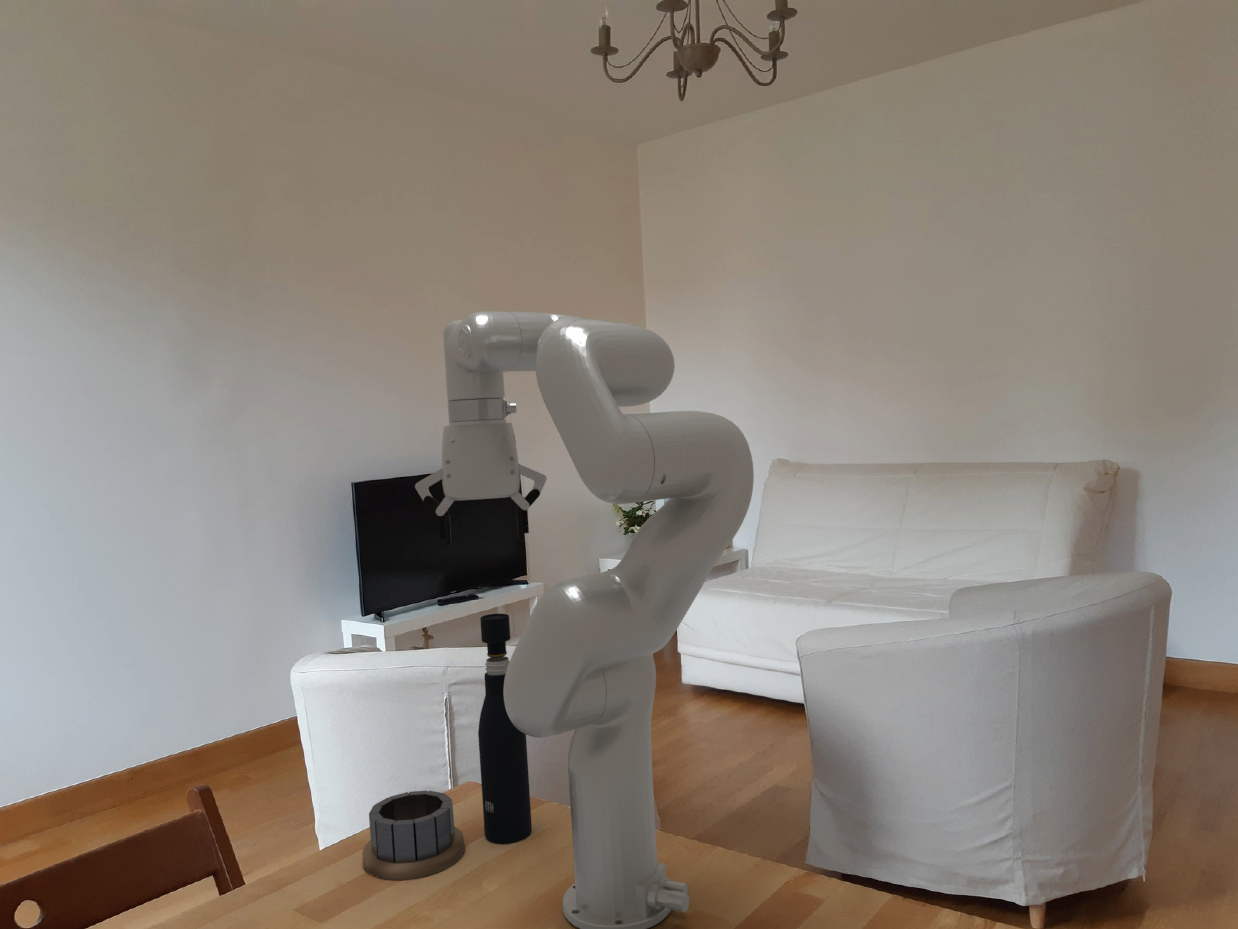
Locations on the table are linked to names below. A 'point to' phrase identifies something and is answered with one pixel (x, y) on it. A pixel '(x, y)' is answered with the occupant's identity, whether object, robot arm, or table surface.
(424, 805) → the bottle stand
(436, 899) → the table surface
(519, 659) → the robot arm
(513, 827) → the black tall rounded piece
